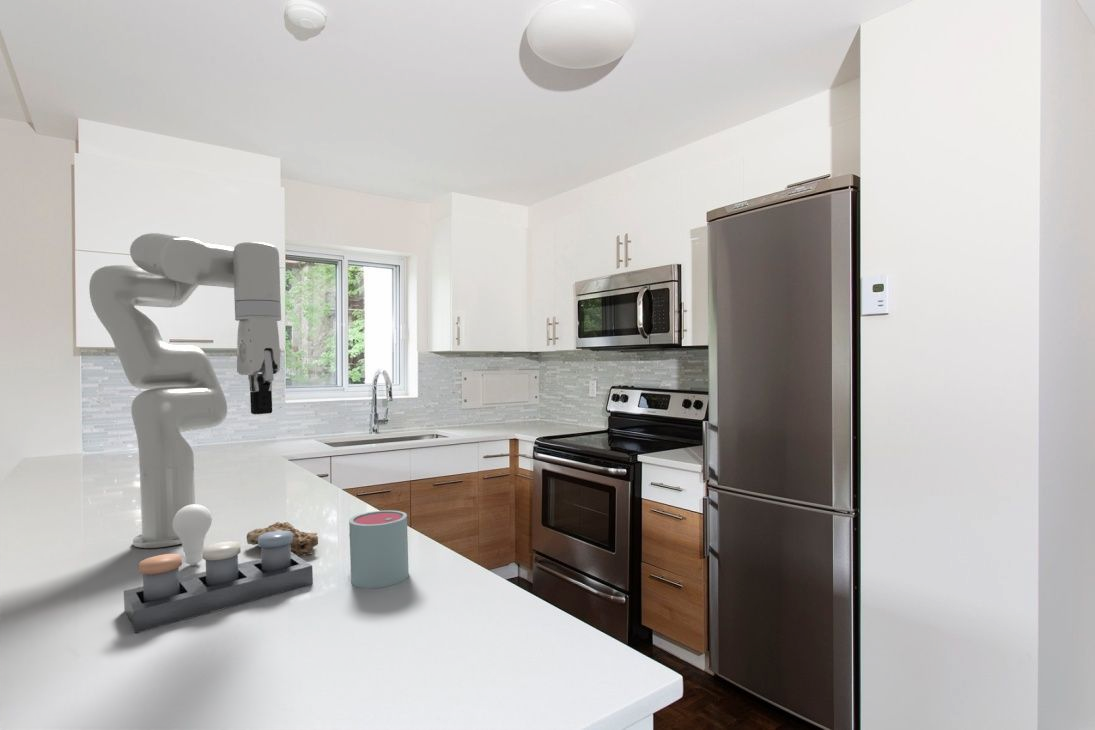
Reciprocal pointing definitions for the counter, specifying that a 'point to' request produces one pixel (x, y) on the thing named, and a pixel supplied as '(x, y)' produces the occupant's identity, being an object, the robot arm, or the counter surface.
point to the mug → (378, 548)
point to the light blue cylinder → (275, 550)
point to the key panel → (214, 593)
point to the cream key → (221, 562)
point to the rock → (301, 540)
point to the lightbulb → (192, 530)
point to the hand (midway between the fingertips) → (261, 413)
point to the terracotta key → (160, 576)
